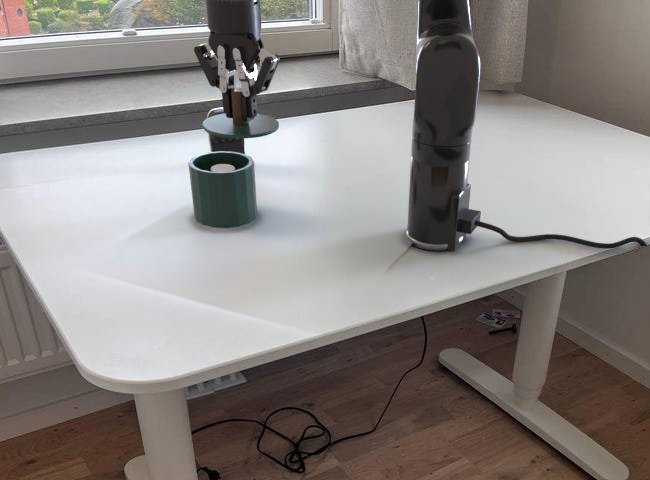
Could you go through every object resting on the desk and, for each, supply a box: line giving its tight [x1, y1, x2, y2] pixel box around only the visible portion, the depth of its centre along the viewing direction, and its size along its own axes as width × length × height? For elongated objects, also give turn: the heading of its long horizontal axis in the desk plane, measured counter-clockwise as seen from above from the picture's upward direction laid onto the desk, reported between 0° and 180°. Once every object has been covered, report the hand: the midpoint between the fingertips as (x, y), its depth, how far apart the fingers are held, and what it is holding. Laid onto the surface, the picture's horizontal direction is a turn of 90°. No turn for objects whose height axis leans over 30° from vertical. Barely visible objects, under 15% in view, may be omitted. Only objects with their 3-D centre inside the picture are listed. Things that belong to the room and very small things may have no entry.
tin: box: [187, 151, 258, 229], centre depth 131 cm, size 10×10×10 cm
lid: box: [202, 87, 280, 140], centre depth 117 cm, size 11×11×6 cm
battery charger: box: [206, 106, 246, 154], centre depth 150 cm, size 7×4×11 cm, turn 122°
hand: (240, 117), depth 118 cm, fingers closed on lid, 2 cm apart
